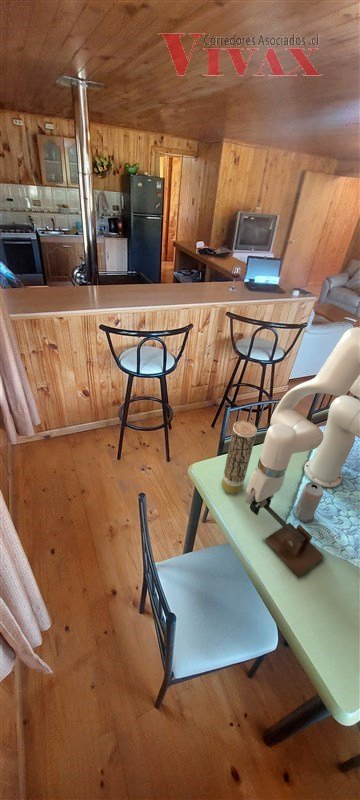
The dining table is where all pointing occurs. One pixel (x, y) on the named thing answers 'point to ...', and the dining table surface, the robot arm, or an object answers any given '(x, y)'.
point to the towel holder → (294, 549)
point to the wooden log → (238, 456)
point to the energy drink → (308, 501)
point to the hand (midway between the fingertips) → (258, 507)
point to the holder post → (282, 521)
